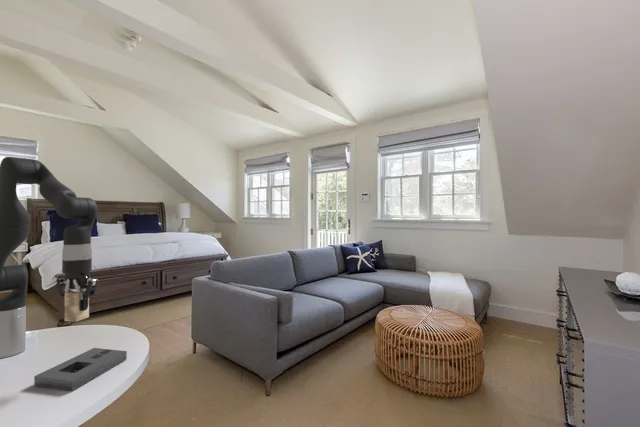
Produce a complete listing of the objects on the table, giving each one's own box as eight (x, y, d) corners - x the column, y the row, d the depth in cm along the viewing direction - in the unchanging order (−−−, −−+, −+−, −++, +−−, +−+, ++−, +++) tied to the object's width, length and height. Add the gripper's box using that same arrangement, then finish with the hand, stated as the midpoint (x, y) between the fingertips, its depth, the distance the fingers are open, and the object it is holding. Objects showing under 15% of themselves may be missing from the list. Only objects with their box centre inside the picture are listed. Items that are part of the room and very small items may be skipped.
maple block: (64, 320, 96) (64, 292, 96) (77, 316, 101) (77, 289, 101) (76, 321, 95) (76, 293, 96) (88, 317, 100) (89, 290, 100)
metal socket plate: (34, 385, 92) (34, 375, 92) (94, 355, 112) (94, 347, 112) (72, 391, 90) (72, 380, 90) (126, 359, 109) (126, 350, 109)
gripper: (47, 258, 96) (46, 312, 96) (84, 260, 93) (84, 314, 93) (70, 255, 103) (70, 305, 103) (106, 256, 101) (105, 307, 100)
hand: (77, 309), depth 98 cm, fingers closed on maple block, 4 cm apart
